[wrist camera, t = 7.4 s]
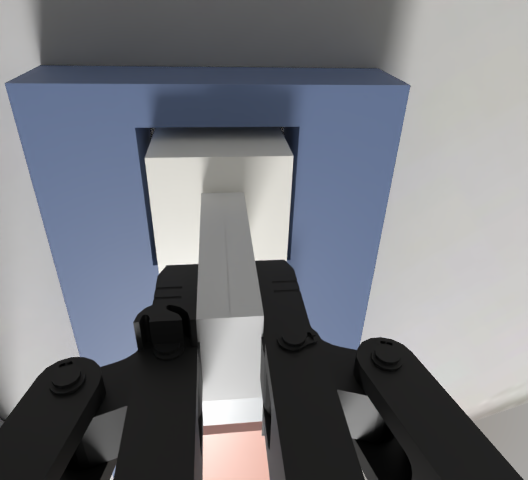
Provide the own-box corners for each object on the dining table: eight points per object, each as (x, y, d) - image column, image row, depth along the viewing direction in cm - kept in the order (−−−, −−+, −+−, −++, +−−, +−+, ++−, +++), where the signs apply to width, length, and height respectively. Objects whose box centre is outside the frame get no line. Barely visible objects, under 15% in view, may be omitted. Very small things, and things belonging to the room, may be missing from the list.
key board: (40, 65, 17) (4, 83, 14) (378, 68, 19) (410, 85, 16) (125, 435, 29) (116, 487, 27) (323, 419, 31) (335, 466, 28)
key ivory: (155, 127, 17) (144, 157, 14) (279, 126, 18) (293, 155, 15) (167, 234, 20) (159, 279, 17) (274, 231, 20) (285, 274, 17)
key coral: (182, 382, 25) (179, 437, 22) (268, 376, 25) (275, 429, 22) (188, 435, 27) (186, 490, 24) (265, 429, 28) (272, 482, 25)
